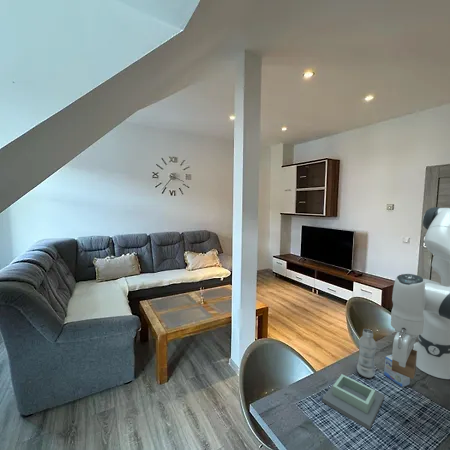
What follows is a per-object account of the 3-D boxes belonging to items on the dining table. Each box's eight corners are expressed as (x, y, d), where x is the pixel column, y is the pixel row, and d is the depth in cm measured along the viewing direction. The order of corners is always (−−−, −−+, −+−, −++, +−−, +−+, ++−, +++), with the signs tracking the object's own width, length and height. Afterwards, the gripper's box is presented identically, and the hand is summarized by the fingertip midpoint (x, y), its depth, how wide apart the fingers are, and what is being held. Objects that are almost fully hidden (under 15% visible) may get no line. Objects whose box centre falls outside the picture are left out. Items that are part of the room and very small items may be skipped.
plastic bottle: (358, 367, 111) (360, 325, 109) (375, 374, 107) (378, 330, 104) (355, 375, 106) (357, 331, 104) (373, 382, 102) (375, 337, 99)
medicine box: (383, 374, 106) (384, 356, 105) (390, 372, 108) (392, 353, 107) (402, 387, 99) (403, 367, 98) (409, 384, 100) (411, 365, 99)
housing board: (340, 377, 105) (341, 366, 104) (384, 398, 94) (384, 386, 93) (322, 401, 93) (322, 389, 92) (369, 430, 81) (370, 416, 81)
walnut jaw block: (394, 364, 88) (395, 343, 87) (415, 373, 83) (417, 350, 82) (391, 370, 85) (393, 348, 84) (413, 379, 80) (414, 356, 80)
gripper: (412, 339, 73) (409, 382, 74) (423, 315, 87) (420, 352, 88) (387, 331, 77) (385, 372, 79) (401, 310, 91) (399, 345, 93)
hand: (404, 361), depth 84 cm, fingers closed on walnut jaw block, 4 cm apart
